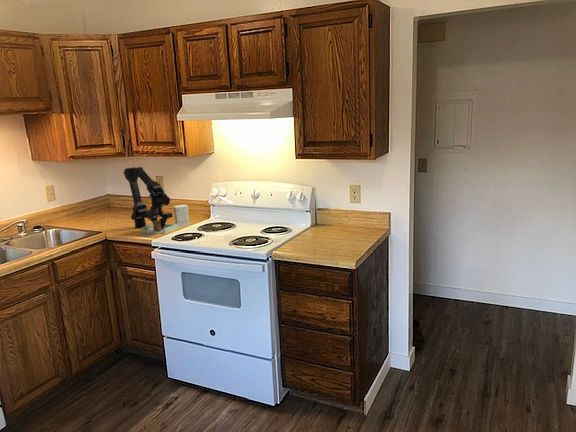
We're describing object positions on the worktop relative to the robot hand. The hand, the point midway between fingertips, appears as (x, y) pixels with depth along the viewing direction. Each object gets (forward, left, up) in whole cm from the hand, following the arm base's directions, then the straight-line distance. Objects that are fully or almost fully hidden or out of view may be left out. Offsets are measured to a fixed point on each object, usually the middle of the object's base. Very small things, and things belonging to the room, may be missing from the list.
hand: (159, 228), depth 295 cm
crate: (0, +1, -2) cm, 2 cm away
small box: (+5, +17, -2) cm, 17 cm away
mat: (0, -11, -2) cm, 12 cm away
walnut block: (0, 0, -1) cm, 1 cm away
